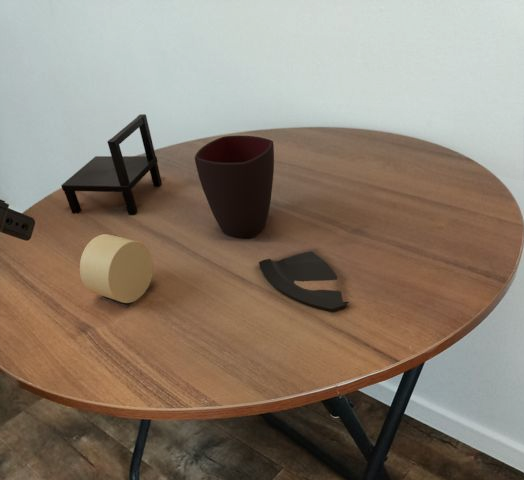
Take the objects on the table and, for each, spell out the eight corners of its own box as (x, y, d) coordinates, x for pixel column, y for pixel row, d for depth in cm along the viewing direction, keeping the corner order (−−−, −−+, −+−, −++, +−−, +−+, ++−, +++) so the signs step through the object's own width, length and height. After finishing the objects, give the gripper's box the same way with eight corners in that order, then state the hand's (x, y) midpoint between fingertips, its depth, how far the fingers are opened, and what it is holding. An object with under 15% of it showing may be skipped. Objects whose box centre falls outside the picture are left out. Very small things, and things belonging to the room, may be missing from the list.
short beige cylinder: (93, 310, 66) (71, 253, 61) (133, 279, 71) (115, 223, 65) (121, 320, 64) (100, 261, 59) (160, 287, 69) (144, 230, 63)
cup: (199, 239, 77) (183, 159, 69) (244, 198, 86) (235, 123, 78) (258, 250, 73) (248, 167, 65) (299, 206, 82) (294, 128, 74)
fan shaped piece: (297, 331, 59) (296, 319, 58) (257, 272, 69) (255, 262, 68) (363, 309, 61) (363, 298, 60) (314, 255, 71) (313, 245, 70)
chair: (71, 213, 88) (44, 142, 80) (103, 182, 97) (82, 115, 89) (135, 215, 85) (114, 141, 77) (163, 183, 94) (146, 114, 86)
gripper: (-139, 100, 33) (63, 195, 47) (-236, 87, 39) (-32, 175, 53) (-171, 216, 33) (39, 275, 47) (-262, 184, 39) (-52, 245, 54)
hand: (1, 222), depth 50 cm, fingers open, 8 cm apart
